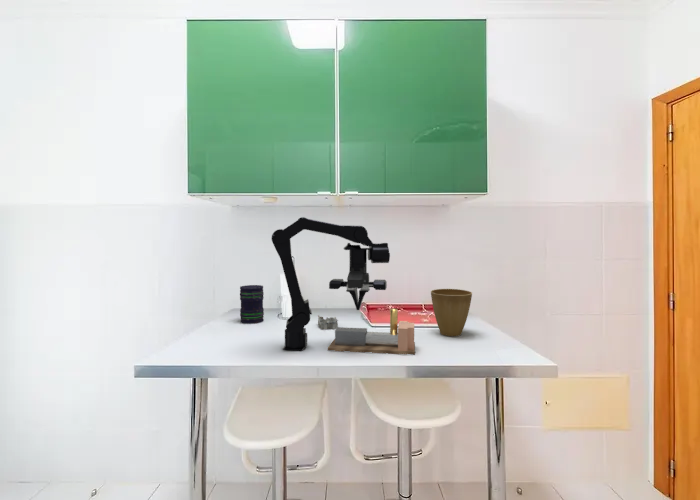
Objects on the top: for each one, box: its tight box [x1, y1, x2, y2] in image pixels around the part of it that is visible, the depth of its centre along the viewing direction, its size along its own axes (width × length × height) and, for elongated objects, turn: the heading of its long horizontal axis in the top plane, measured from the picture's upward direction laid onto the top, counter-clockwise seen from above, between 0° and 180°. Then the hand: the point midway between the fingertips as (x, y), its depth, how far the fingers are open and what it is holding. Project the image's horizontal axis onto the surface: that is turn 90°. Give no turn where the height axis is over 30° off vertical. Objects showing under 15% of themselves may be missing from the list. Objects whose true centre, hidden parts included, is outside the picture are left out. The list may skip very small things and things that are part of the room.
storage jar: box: [239, 284, 265, 325], centre depth 171 cm, size 10×10×15 cm
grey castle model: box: [317, 314, 339, 331], centre depth 162 cm, size 11×8×4 cm
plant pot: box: [430, 288, 473, 337], centre depth 149 cm, size 15×15×16 cm
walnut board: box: [327, 338, 416, 356], centre depth 132 cm, size 28×11×1 cm, turn 81°
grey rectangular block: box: [334, 326, 368, 347], centre depth 133 cm, size 10×5×5 cm, turn 81°
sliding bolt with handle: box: [366, 308, 399, 344], centre depth 131 cm, size 14×3×11 cm, turn 81°
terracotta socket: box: [398, 320, 415, 351], centre depth 130 cm, size 5×10×7 cm, turn 171°
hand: (358, 310), depth 134 cm, fingers closed
